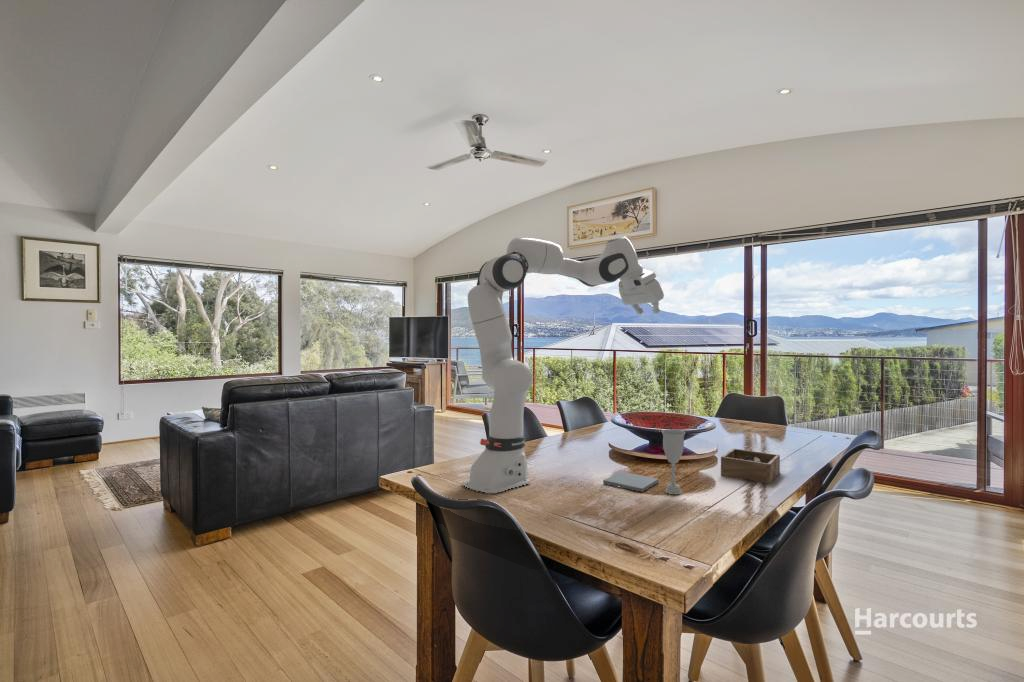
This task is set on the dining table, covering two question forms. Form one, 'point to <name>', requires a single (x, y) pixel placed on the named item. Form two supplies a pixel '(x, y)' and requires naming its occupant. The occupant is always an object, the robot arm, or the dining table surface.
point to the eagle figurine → (751, 458)
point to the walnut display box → (750, 465)
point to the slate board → (631, 481)
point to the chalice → (673, 454)
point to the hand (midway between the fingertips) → (648, 313)
